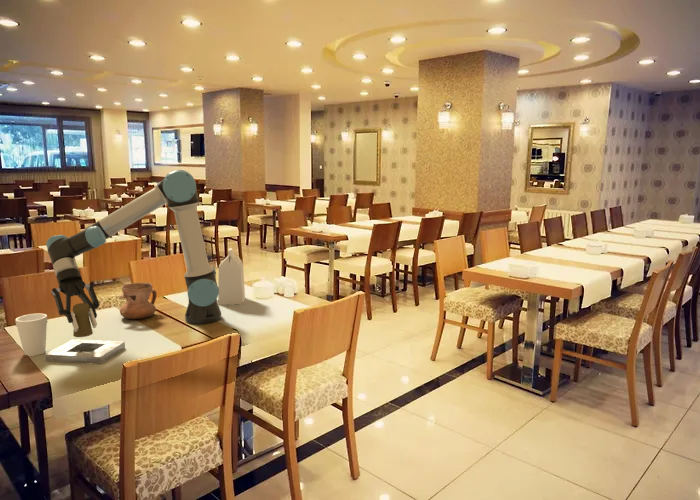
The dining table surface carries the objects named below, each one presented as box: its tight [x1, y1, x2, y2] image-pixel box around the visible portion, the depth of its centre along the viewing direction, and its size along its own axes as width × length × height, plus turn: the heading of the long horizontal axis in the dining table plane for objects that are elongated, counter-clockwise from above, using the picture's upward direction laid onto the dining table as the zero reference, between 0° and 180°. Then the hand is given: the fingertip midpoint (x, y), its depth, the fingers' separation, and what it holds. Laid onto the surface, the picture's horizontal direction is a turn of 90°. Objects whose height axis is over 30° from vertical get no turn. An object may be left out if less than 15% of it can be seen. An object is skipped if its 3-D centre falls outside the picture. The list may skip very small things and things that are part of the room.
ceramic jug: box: [118, 282, 157, 320], centre depth 219 cm, size 18×14×14 cm
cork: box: [72, 302, 94, 338], centre depth 174 cm, size 6×6×11 cm
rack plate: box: [44, 338, 126, 365], centre depth 176 cm, size 20×15×2 cm
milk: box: [217, 247, 246, 306], centre depth 244 cm, size 12×12×26 cm
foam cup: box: [15, 312, 48, 357], centre depth 176 cm, size 10×9×13 cm
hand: (86, 327), depth 172 cm, fingers closed on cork, 5 cm apart
